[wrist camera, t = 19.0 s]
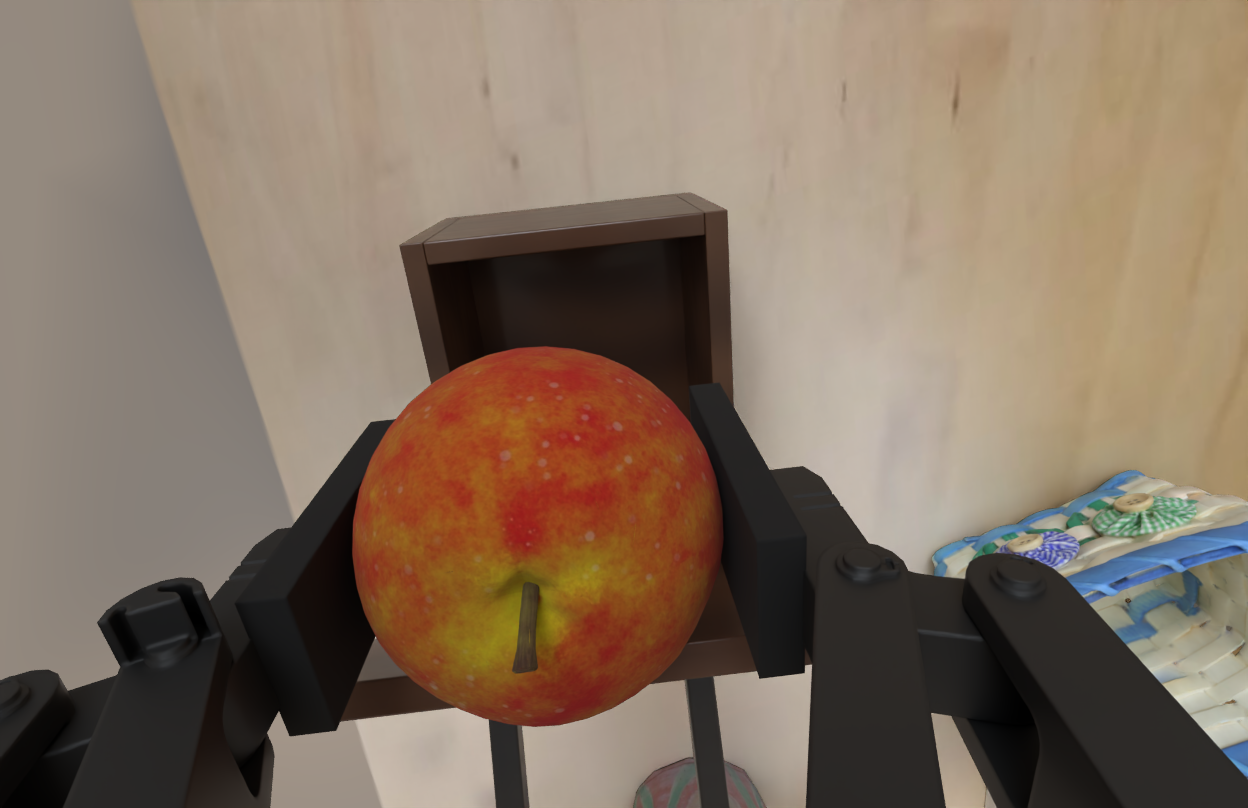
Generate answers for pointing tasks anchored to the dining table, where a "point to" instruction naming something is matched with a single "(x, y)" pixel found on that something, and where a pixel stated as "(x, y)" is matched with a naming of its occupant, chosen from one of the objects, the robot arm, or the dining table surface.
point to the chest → (582, 287)
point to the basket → (1152, 585)
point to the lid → (704, 656)
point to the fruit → (537, 536)
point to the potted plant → (693, 788)
